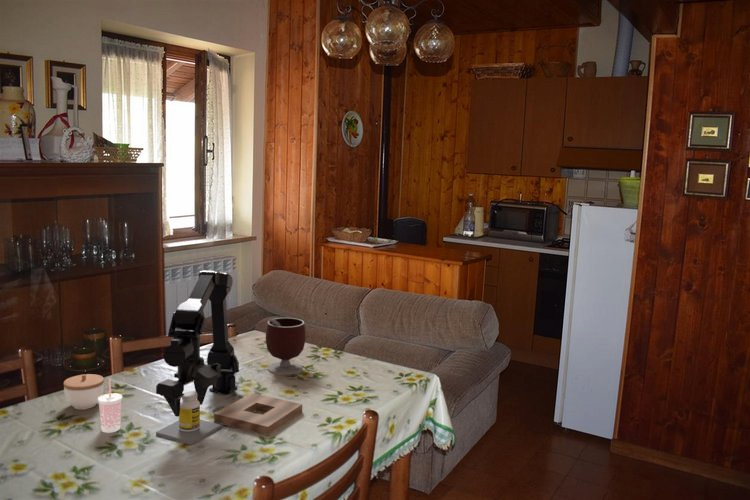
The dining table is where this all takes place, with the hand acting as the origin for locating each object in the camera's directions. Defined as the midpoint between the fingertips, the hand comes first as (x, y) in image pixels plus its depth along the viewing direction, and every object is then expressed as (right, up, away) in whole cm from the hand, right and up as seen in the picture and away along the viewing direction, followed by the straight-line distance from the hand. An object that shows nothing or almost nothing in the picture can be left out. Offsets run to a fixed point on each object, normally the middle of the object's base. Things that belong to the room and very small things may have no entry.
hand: (188, 410), depth 169 cm
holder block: (+17, -5, +12) cm, 21 cm away
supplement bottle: (0, -5, +1) cm, 5 cm away
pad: (0, -6, +1) cm, 6 cm away
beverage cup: (-21, -5, 0) cm, 22 cm away
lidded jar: (-35, -3, +15) cm, 39 cm away
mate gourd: (+18, +1, +53) cm, 56 cm away
